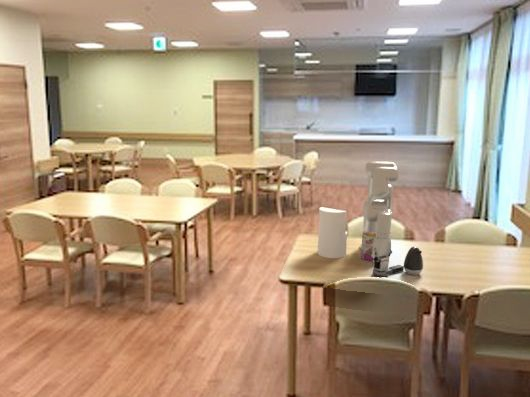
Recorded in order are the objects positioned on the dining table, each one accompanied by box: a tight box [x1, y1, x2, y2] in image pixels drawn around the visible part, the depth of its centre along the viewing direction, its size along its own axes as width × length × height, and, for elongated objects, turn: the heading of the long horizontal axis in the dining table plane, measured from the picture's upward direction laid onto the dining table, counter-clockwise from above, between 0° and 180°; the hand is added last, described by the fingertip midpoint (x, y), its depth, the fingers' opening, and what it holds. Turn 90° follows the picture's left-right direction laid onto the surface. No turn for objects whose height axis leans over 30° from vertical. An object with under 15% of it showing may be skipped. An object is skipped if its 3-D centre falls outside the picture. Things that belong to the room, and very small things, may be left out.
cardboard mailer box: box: [372, 256, 390, 271], centre depth 270 cm, size 6×6×7 cm
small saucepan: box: [372, 264, 405, 278], centre depth 274 cm, size 20×8×7 cm, turn 123°
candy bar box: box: [360, 231, 376, 262], centre depth 295 cm, size 11×5×16 cm, turn 71°
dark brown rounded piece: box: [403, 246, 424, 276], centre depth 274 cm, size 10×10×15 cm
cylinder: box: [317, 206, 348, 259], centre depth 303 cm, size 17×17×28 cm
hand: (380, 266), depth 270 cm, fingers closed on cardboard mailer box, 5 cm apart
